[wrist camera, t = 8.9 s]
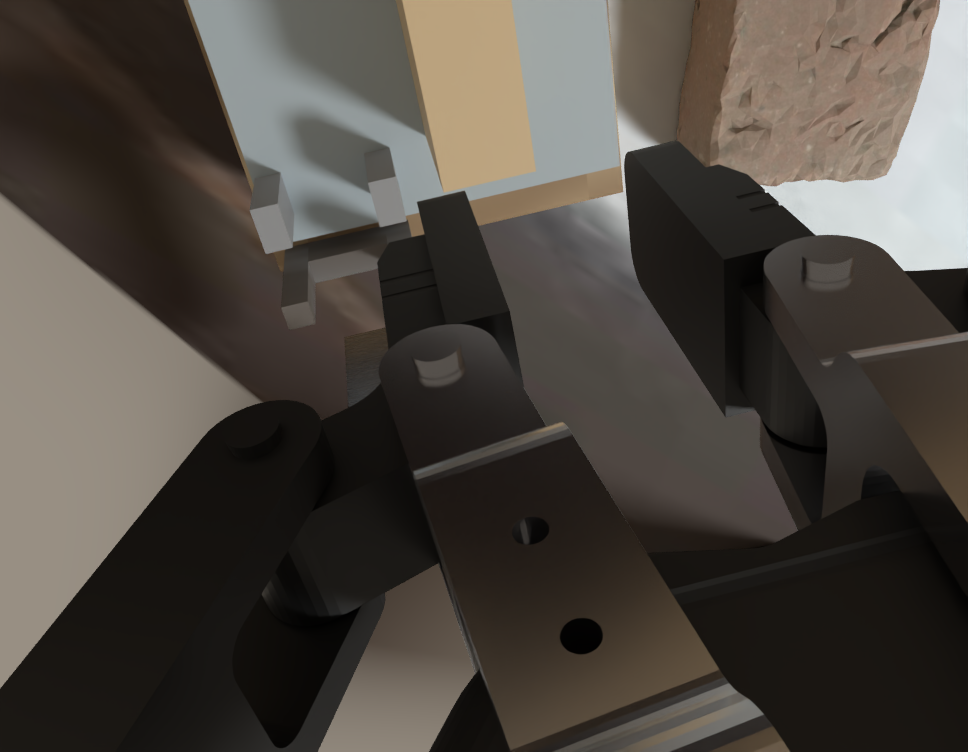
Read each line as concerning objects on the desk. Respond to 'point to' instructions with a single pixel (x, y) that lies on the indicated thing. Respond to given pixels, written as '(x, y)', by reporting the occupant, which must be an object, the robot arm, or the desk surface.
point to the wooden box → (402, 225)
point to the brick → (803, 85)
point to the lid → (406, 102)
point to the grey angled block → (364, 363)
